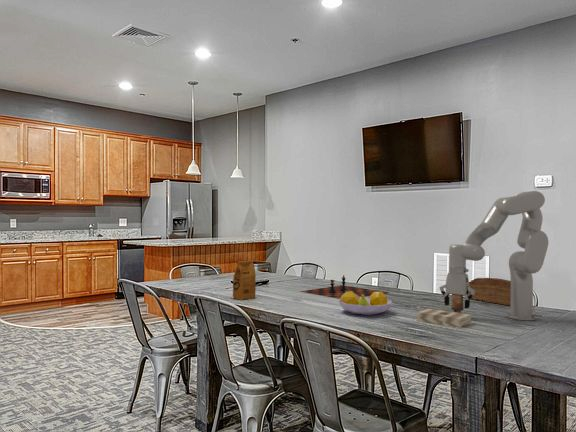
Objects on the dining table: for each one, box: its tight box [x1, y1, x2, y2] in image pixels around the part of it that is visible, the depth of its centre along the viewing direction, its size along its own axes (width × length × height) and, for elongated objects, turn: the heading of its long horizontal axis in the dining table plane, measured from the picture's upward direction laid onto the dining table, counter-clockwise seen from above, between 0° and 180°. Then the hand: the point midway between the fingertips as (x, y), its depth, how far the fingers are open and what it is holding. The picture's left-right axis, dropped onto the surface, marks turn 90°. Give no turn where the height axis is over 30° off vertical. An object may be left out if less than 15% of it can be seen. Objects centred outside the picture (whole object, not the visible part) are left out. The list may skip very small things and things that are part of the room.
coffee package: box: [232, 260, 257, 301], centre depth 274 cm, size 10×12×22 cm
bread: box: [468, 277, 511, 307], centre depth 266 cm, size 12×31×14 cm, turn 34°
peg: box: [450, 294, 464, 313], centre depth 223 cm, size 5×5×11 cm
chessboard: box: [299, 275, 389, 300], centre depth 299 cm, size 40×40×11 cm
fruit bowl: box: [337, 291, 392, 316], centre depth 234 cm, size 28×27×11 cm
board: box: [416, 308, 472, 329], centre depth 213 cm, size 20×12×4 cm, turn 46°
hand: (456, 306), depth 223 cm, fingers open, 9 cm apart
